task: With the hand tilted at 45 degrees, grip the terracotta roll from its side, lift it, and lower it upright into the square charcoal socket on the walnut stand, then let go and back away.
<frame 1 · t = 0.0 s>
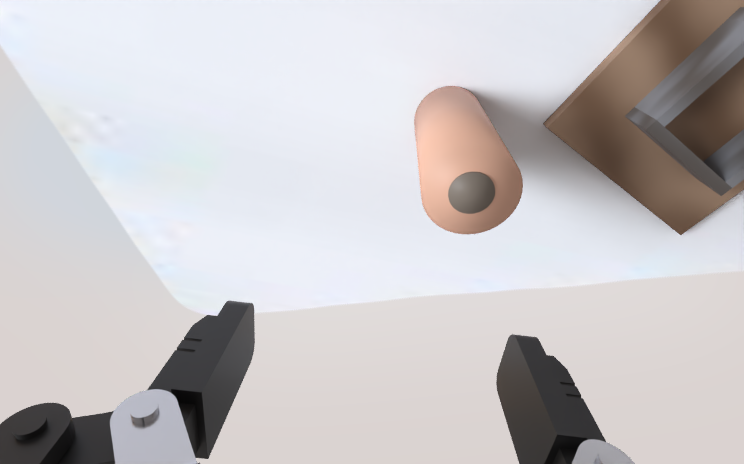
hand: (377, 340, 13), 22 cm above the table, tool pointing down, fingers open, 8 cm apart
roll: (448, 120, 31), on the table
holder: (706, 98, 29), on the table
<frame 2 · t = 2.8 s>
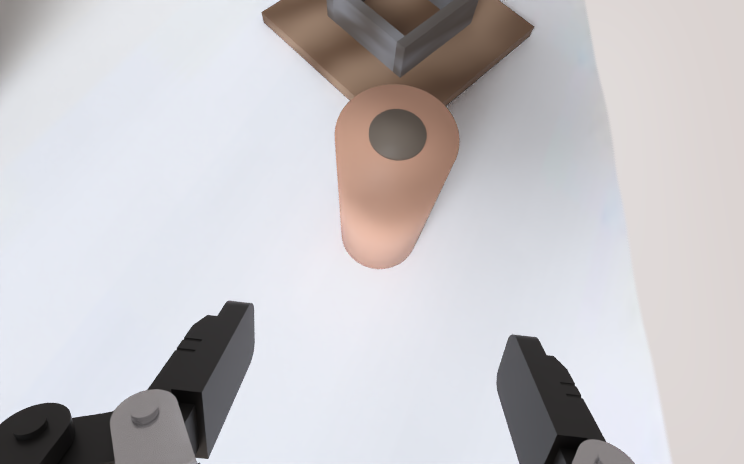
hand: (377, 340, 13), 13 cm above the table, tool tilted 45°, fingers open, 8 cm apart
roll: (379, 232, 28), on the table
holder: (398, 29, 34), on the table
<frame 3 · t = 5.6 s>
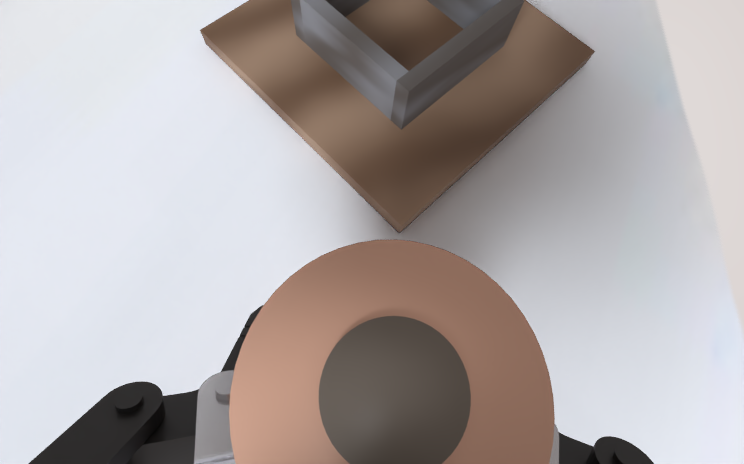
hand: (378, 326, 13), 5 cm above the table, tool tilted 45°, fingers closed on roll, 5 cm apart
roll: (367, 383, 18), on the table, touching gripper
holder: (399, 54, 24), on the table
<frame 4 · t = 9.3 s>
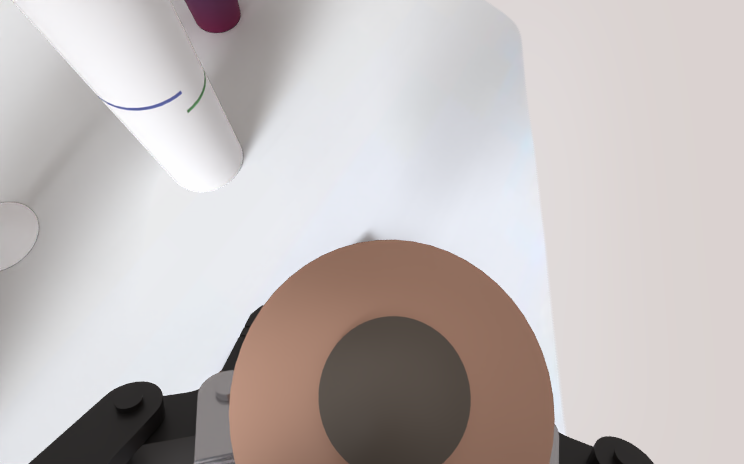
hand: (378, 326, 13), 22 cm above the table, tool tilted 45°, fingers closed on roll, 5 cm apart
roll: (367, 383, 18), point 17 cm above the table, touching gripper
champagne flute: (0, 236, 36), on the table
cylindrical container: (206, 160, 40), on the table
cup: (218, 17, 46), on the table
when the fingers open (8 cm above the table, at t = 13.3 s): roll drops 1 cm, resting on holder.
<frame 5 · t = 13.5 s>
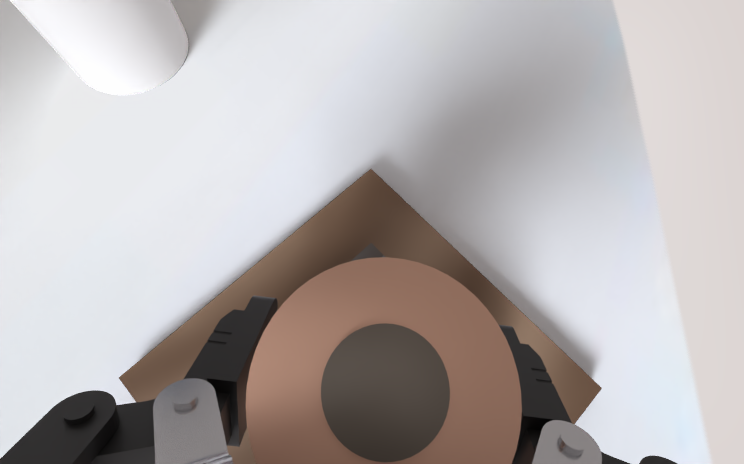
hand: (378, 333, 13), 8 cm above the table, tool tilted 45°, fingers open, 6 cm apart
roll: (367, 385, 19), point 1 cm above the table, touching holder
cylindrical container: (133, 51, 26), on the table
holder: (364, 382, 20), on the table
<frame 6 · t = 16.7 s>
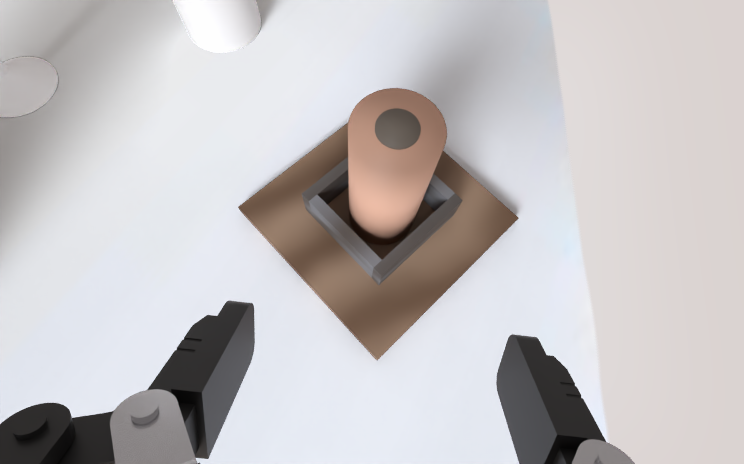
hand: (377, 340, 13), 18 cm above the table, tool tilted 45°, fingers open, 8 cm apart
roll: (381, 213, 33), point 1 cm above the table, touching holder
champagne flute: (20, 87, 36), on the table
cylindrical container: (225, 25, 40), on the table
holder: (379, 217, 34), on the table
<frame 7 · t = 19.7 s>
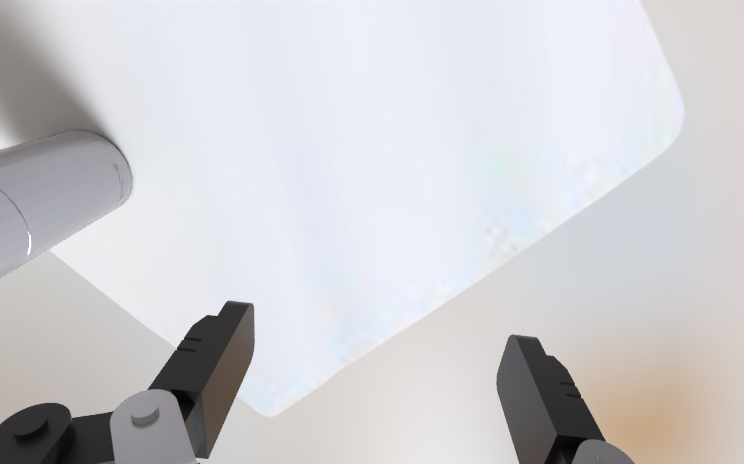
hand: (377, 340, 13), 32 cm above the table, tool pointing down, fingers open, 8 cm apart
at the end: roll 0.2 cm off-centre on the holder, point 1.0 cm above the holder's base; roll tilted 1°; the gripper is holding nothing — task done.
